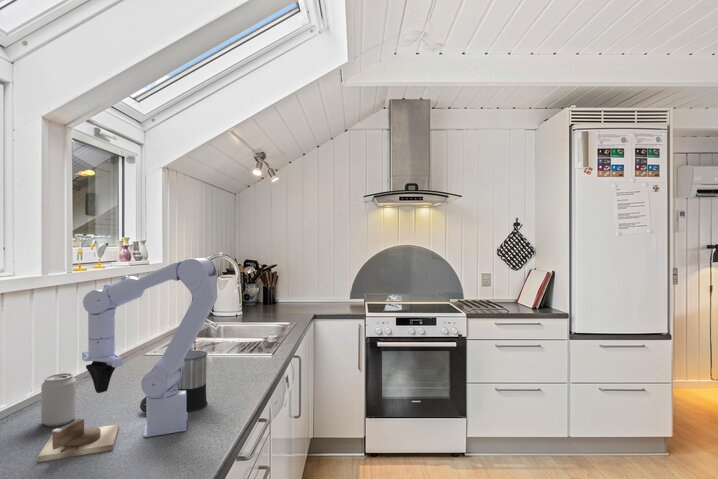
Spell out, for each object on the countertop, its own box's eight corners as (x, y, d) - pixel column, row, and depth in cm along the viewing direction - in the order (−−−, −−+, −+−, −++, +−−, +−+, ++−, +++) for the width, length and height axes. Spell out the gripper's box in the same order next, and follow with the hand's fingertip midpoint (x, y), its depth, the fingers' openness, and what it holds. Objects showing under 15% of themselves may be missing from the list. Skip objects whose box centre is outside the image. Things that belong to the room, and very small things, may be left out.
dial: (80, 430, 105) (80, 410, 105) (108, 433, 103) (108, 412, 104) (40, 452, 94) (40, 429, 94) (70, 454, 93) (70, 431, 93)
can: (82, 415, 118) (82, 371, 118) (64, 427, 110) (64, 380, 110) (53, 416, 117) (53, 371, 118) (34, 428, 110) (34, 380, 110)
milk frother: (214, 403, 126) (214, 352, 126) (166, 423, 112) (166, 365, 113) (182, 395, 133) (182, 346, 133) (133, 412, 120) (133, 358, 120)
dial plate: (119, 428, 109) (119, 423, 109) (113, 449, 98) (113, 443, 98) (52, 439, 104) (52, 433, 104) (37, 462, 93) (37, 455, 93)
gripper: (69, 337, 109) (69, 391, 109) (101, 343, 102) (101, 401, 102) (98, 332, 115) (98, 383, 115) (130, 338, 108) (130, 392, 108)
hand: (101, 391), depth 109 cm, fingers closed
